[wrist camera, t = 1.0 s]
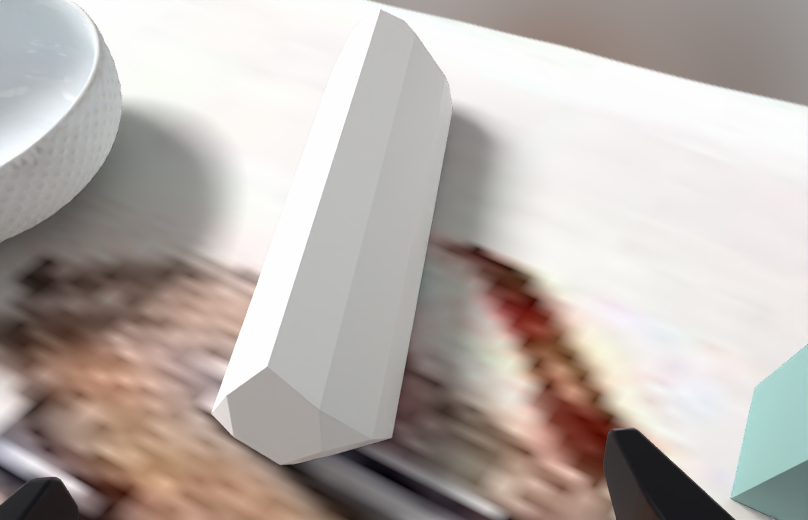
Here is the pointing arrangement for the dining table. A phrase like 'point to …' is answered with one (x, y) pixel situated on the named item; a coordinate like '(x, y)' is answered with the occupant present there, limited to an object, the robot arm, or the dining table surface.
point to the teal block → (777, 444)
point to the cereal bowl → (51, 108)
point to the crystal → (345, 258)
